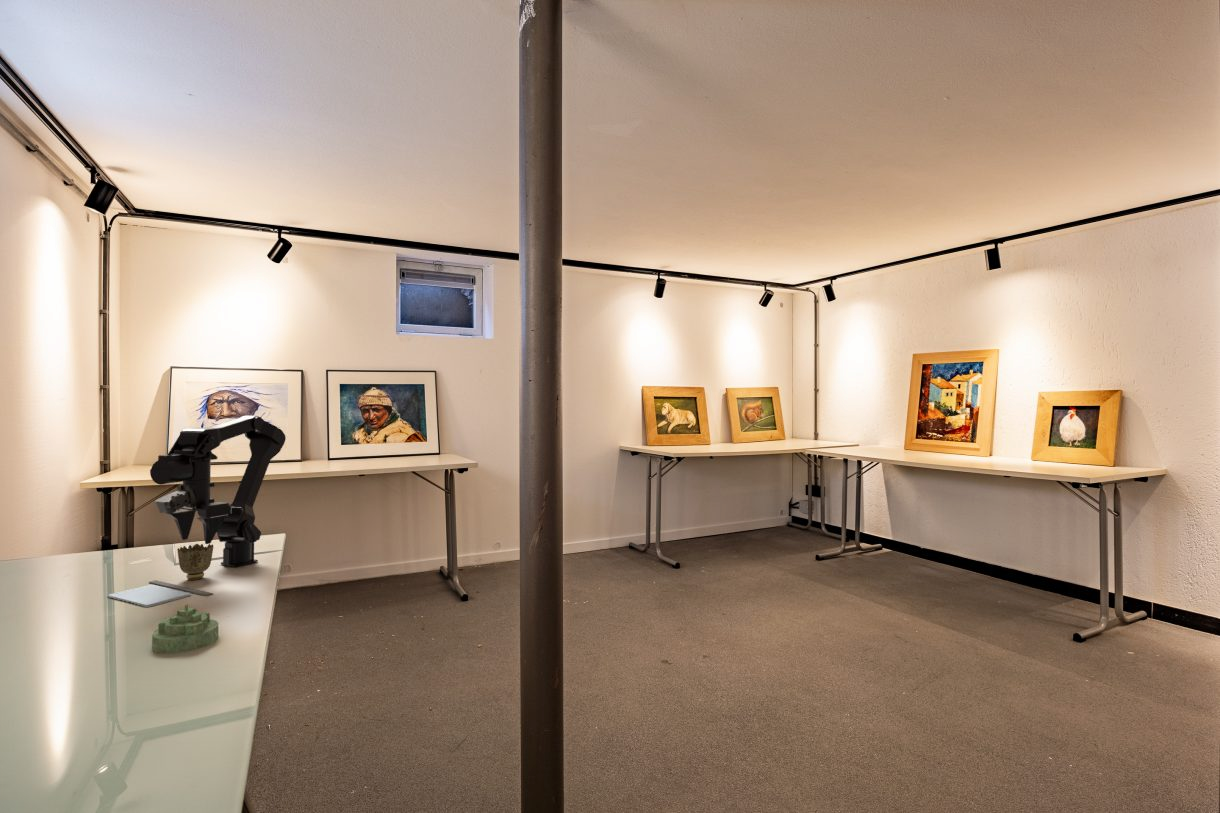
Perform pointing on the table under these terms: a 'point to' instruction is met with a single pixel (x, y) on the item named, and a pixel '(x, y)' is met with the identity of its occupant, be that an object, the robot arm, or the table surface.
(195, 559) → the cup
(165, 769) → the table surface
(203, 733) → the table surface
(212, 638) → the decorative artifact
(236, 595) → the table surface
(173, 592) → the board
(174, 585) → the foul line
